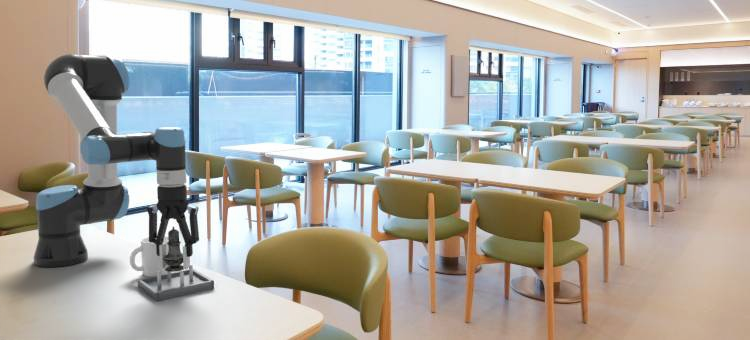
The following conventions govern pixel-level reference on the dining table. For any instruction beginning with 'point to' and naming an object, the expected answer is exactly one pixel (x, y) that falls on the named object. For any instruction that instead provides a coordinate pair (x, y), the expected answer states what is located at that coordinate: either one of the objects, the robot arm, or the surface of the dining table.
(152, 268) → the mug
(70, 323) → the dining table surface
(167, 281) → the tray
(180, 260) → the dark grey tall piece
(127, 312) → the dining table surface
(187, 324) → the dining table surface
